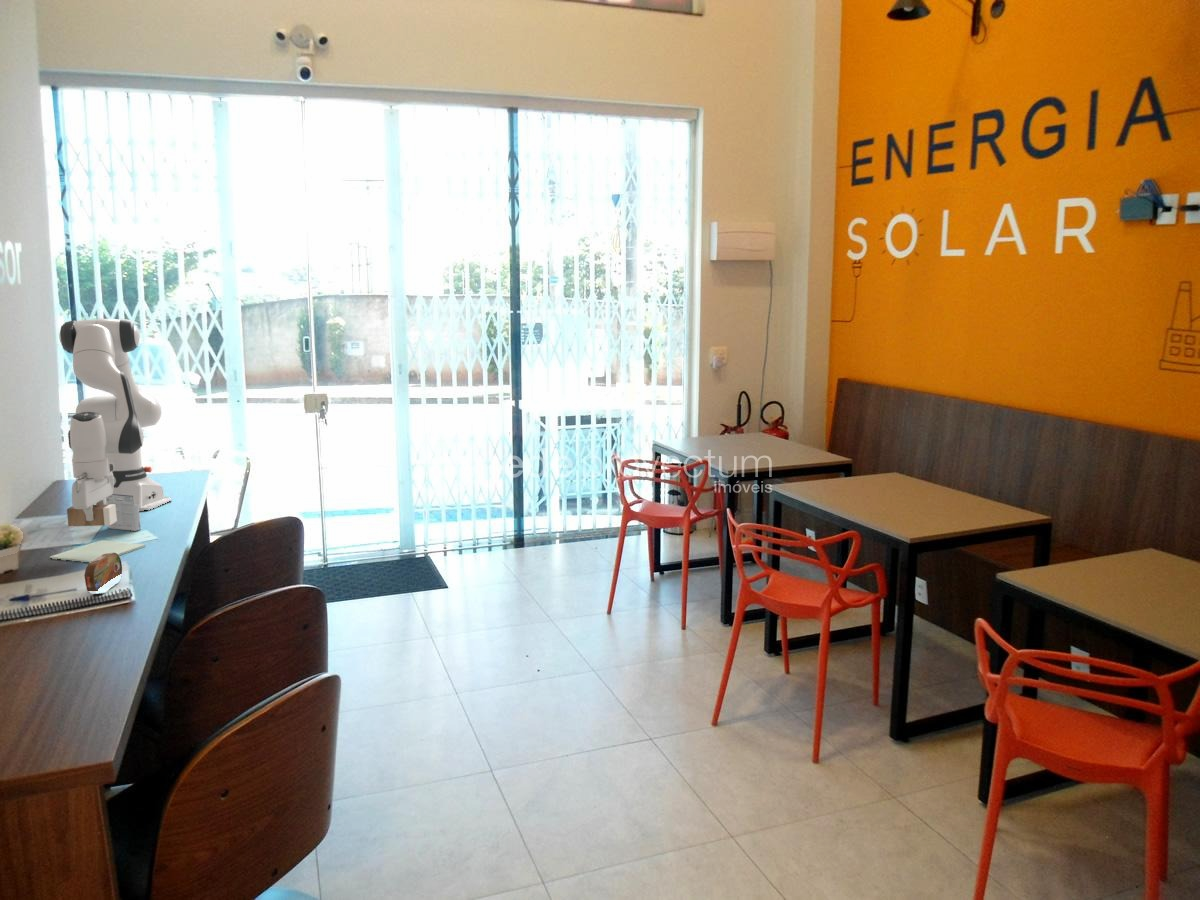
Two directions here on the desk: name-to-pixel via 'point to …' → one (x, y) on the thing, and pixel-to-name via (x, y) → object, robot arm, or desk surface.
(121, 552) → the sage mat
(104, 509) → the walnut block
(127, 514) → the ink box
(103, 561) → the tin
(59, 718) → the desk surface
